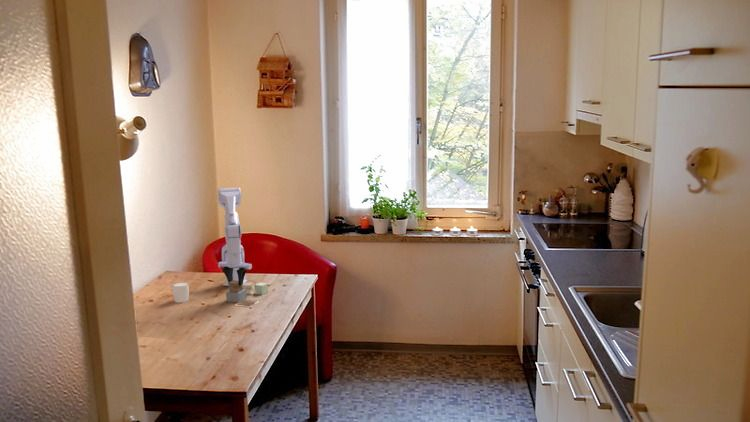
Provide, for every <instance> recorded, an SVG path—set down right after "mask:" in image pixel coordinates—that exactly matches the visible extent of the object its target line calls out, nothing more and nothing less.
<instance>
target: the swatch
mask: <svg viewBox="0 0 750 422" xmlns="http://www.w3.org/2000/svg"><path fill="white" fill-rule="evenodd" d="M259 302H260V301H259V300H255V299H253V300H252V299H244V300H242V301H241V302H237V303H236V304H235V305H234V306H235V307H242V308H244V307H245V308H253V307H254V306H255V305H257V304H259Z"/></svg>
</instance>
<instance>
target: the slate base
mask: <svg viewBox="0 0 750 422" xmlns="http://www.w3.org/2000/svg"><path fill="white" fill-rule="evenodd" d="M247 295H248V294H247V291H246V289H243V290H242V291H240V292H238V293H236V292H229V290H227V291H225V296H226V301H227V302H234V303H239V302H241V301H242V300H247V298H248V296H247Z"/></svg>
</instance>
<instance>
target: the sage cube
mask: <svg viewBox="0 0 750 422" xmlns="http://www.w3.org/2000/svg"><path fill="white" fill-rule="evenodd" d="M268 284H269V283H266V282H261V281H260V282H258V283H256V284H255V283H254V294H255V295H262V296H263V295H265V294H267V293H269V285H268Z"/></svg>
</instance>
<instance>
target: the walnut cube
mask: <svg viewBox="0 0 750 422" xmlns="http://www.w3.org/2000/svg"><path fill="white" fill-rule="evenodd" d="M242 290H243V287H242V285H241V286H239V281H238V280H233V281H231V282H229V286H228V291H229V292H236V293H238V292H240V291H242Z"/></svg>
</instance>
